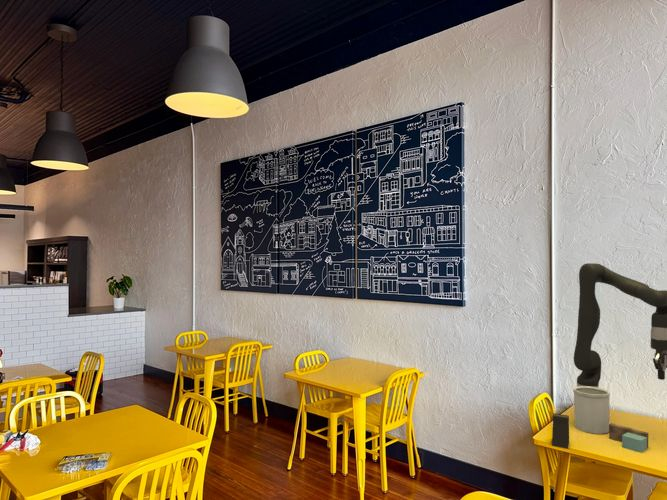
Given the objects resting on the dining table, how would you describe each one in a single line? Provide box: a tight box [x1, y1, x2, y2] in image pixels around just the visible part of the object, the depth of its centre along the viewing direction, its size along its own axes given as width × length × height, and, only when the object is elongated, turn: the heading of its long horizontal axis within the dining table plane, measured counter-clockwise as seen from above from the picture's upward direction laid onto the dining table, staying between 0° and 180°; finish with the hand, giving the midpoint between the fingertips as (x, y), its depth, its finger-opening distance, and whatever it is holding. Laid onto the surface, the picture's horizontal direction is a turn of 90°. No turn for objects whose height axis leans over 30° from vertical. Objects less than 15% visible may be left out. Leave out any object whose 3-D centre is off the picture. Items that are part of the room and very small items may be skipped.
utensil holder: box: [572, 386, 611, 435], centre depth 216 cm, size 15×15×18 cm
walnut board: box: [608, 423, 649, 449], centre depth 199 cm, size 14×2×6 cm, turn 39°
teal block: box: [621, 432, 648, 454], centre depth 193 cm, size 7×6×5 cm
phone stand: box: [551, 412, 570, 449], centre depth 197 cm, size 9×6×12 cm, turn 150°
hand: (661, 379), depth 199 cm, fingers closed
